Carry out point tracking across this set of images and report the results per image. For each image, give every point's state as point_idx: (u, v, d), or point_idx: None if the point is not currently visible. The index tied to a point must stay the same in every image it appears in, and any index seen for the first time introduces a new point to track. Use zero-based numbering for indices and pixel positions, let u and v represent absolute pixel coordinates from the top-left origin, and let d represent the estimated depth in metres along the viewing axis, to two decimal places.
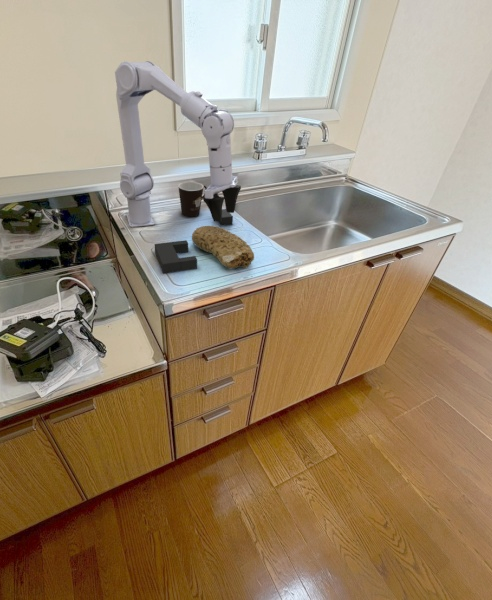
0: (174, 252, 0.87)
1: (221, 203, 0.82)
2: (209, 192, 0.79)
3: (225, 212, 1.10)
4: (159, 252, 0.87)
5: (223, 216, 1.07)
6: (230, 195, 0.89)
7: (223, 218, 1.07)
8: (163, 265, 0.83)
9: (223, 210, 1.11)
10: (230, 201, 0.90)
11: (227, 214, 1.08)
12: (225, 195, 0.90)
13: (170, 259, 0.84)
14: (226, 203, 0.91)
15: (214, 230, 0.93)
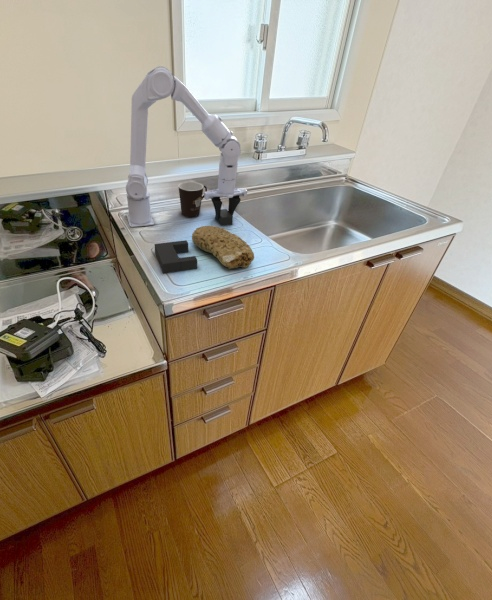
0: (174, 252, 0.87)
1: (219, 205, 1.04)
2: (205, 194, 1.02)
3: (225, 212, 1.10)
4: (159, 252, 0.87)
5: (223, 216, 1.07)
6: (231, 203, 1.07)
7: (223, 218, 1.07)
8: (163, 265, 0.83)
9: (223, 210, 1.11)
10: (230, 208, 1.09)
11: (227, 214, 1.08)
12: (229, 202, 1.09)
13: (170, 259, 0.84)
14: (229, 208, 1.10)
15: (214, 230, 0.93)
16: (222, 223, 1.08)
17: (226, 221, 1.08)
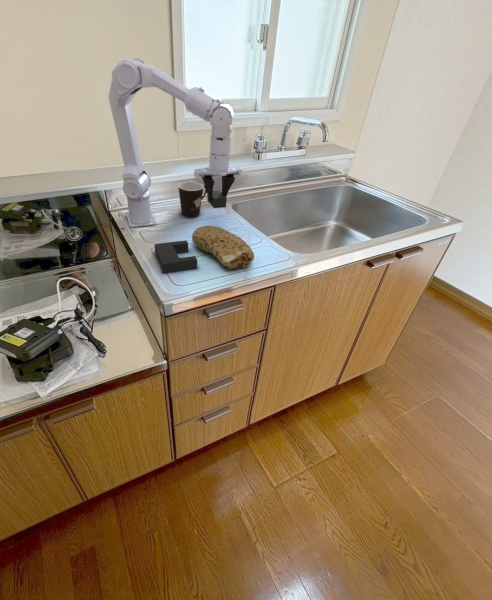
0: (174, 252, 0.87)
1: (210, 185, 0.93)
2: (195, 172, 0.91)
3: (218, 193, 0.99)
4: (159, 252, 0.87)
5: (216, 197, 0.96)
6: (224, 183, 0.96)
7: (216, 200, 0.96)
8: (163, 265, 0.83)
9: (216, 191, 1.00)
10: (224, 189, 0.98)
11: (220, 196, 0.97)
12: (222, 182, 0.98)
13: (170, 259, 0.84)
14: (222, 189, 0.99)
15: (214, 230, 0.93)
16: (215, 205, 0.97)
17: (219, 203, 0.97)
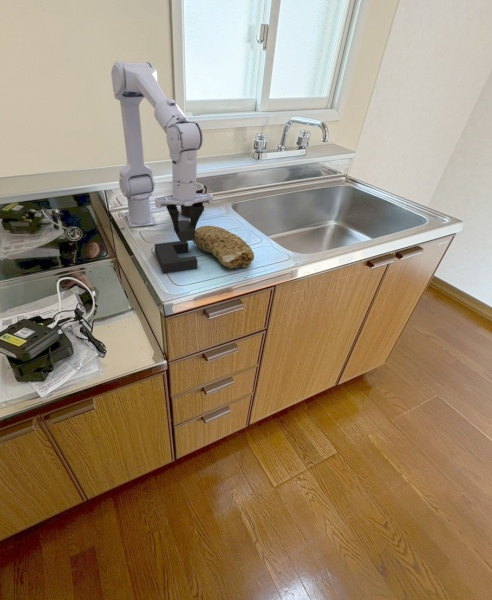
0: (174, 252, 0.87)
1: (175, 216, 0.79)
2: (156, 201, 0.77)
3: (186, 224, 0.84)
4: (159, 252, 0.87)
5: (182, 230, 0.82)
6: (192, 213, 0.82)
7: (182, 232, 0.81)
8: (163, 265, 0.83)
9: (184, 221, 0.86)
10: (192, 219, 0.83)
11: (187, 227, 0.83)
12: (191, 211, 0.83)
13: (170, 259, 0.84)
14: None
15: (214, 230, 0.93)
16: (181, 239, 0.83)
17: (186, 236, 0.82)
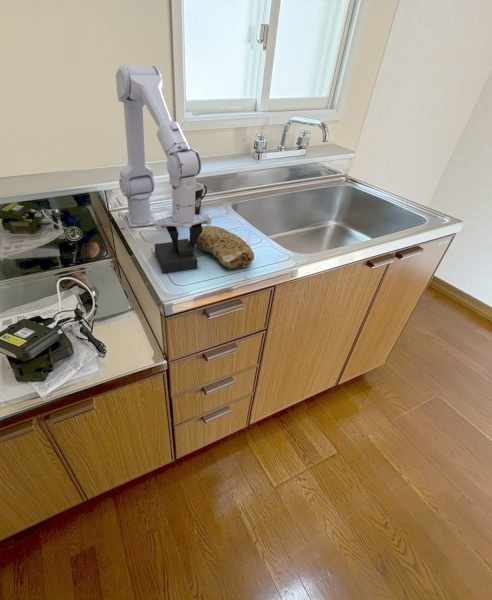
0: (174, 252, 0.87)
1: (174, 237, 0.83)
2: (156, 223, 0.80)
3: (185, 243, 0.88)
4: (159, 252, 0.87)
5: (181, 249, 0.85)
6: (191, 233, 0.86)
7: (181, 252, 0.85)
8: (163, 265, 0.83)
9: (183, 240, 0.89)
10: (191, 239, 0.87)
11: (186, 247, 0.86)
12: (190, 231, 0.87)
13: (170, 259, 0.84)
14: (190, 238, 0.88)
15: (214, 230, 0.93)
16: None
17: (186, 255, 0.86)
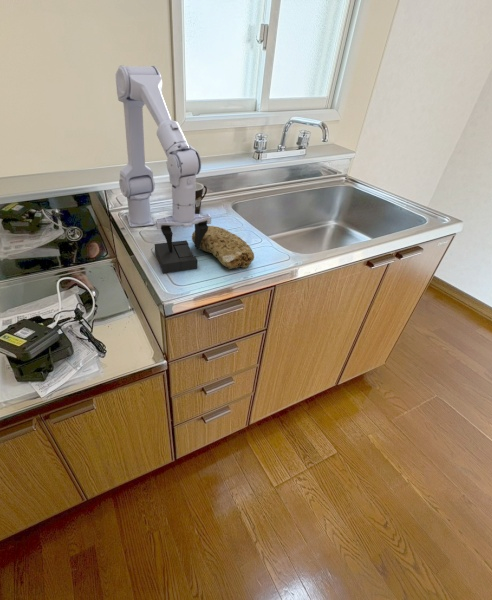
0: (174, 252, 0.87)
1: (168, 237, 0.82)
2: (156, 222, 0.80)
3: (185, 249, 0.89)
4: (159, 252, 0.87)
5: (181, 255, 0.86)
6: (197, 232, 0.86)
7: None
8: (163, 265, 0.83)
9: (183, 246, 0.90)
10: (196, 237, 0.87)
11: (186, 253, 0.87)
12: (195, 230, 0.87)
13: (170, 259, 0.84)
14: (195, 237, 0.88)
15: (214, 230, 0.93)
16: None
17: None
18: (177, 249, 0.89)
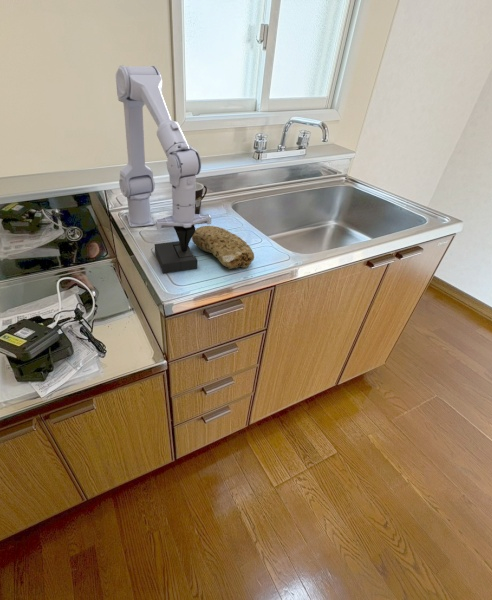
0: (174, 252, 0.87)
1: (181, 235, 0.83)
2: (156, 223, 0.80)
3: None
4: (159, 252, 0.87)
5: (181, 255, 0.86)
6: (184, 233, 0.85)
7: None
8: (163, 265, 0.83)
9: None
10: None
11: (186, 253, 0.87)
12: None
13: (170, 259, 0.84)
14: None
15: (214, 230, 0.93)
16: None
17: None
18: (177, 249, 0.89)
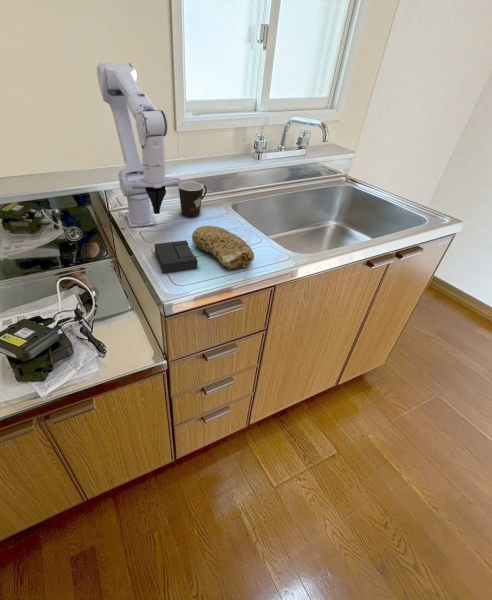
0: (174, 252, 0.87)
1: (153, 197, 0.86)
2: (128, 184, 0.84)
3: (185, 249, 0.89)
4: (159, 252, 0.87)
5: (181, 255, 0.86)
6: (156, 196, 0.88)
7: None
8: (163, 265, 0.83)
9: (183, 246, 0.90)
10: (156, 202, 0.90)
11: (186, 253, 0.87)
12: None
13: (170, 259, 0.84)
14: (155, 202, 0.91)
15: (214, 230, 0.93)
16: None
17: None
18: (177, 249, 0.89)
